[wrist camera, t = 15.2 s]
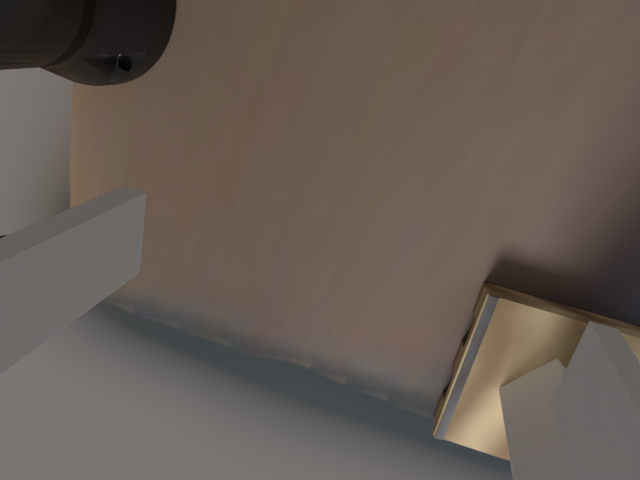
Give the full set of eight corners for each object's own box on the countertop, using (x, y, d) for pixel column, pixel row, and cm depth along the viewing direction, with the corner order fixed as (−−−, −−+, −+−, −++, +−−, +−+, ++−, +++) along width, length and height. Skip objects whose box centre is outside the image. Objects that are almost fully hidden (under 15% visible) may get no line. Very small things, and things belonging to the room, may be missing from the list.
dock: (433, 415, 53) (432, 436, 50) (484, 279, 47) (487, 295, 44) (592, 467, 51) (601, 492, 48) (667, 332, 45) (683, 351, 42)
